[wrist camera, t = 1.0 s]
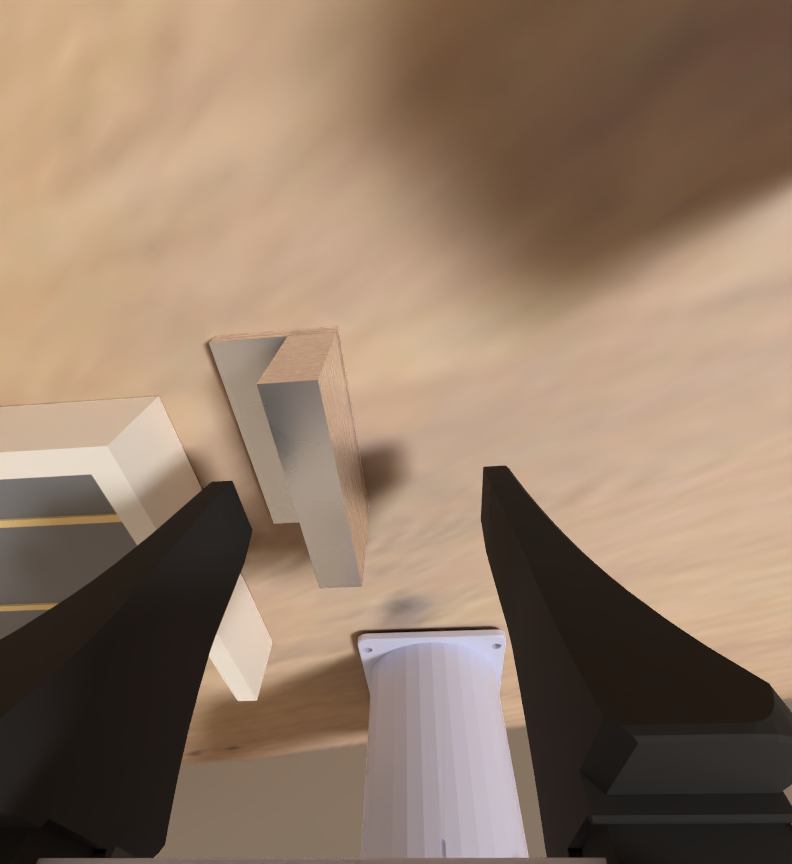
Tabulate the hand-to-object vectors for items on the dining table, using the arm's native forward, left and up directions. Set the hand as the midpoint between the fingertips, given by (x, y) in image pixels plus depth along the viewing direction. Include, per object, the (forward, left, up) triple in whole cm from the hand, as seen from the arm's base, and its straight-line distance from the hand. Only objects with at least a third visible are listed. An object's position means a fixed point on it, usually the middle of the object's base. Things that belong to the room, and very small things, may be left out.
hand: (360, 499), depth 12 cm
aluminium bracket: (0, +2, -4) cm, 5 cm away
